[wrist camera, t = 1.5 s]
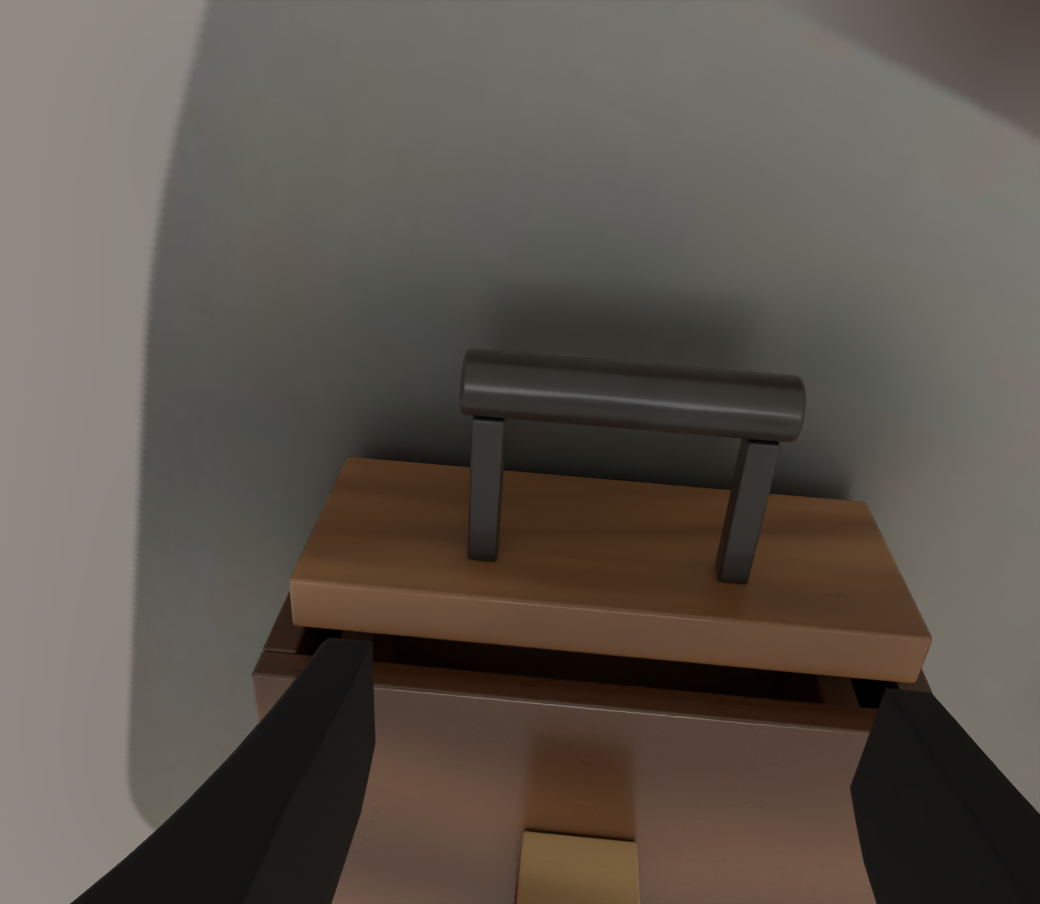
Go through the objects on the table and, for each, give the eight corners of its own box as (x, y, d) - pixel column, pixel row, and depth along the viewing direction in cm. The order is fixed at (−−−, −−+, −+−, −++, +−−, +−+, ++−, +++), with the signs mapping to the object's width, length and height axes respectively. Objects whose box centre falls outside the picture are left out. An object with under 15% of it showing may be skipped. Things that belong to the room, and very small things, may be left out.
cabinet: (333, 493, 22) (249, 674, 17) (864, 540, 22) (955, 741, 17) (351, 813, 29) (294, 1021, 23) (765, 854, 28) (807, 1076, 23)
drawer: (337, 276, 19) (267, 368, 15) (921, 322, 18) (1016, 432, 14) (361, 780, 27) (319, 932, 23) (768, 820, 26) (800, 981, 22)
